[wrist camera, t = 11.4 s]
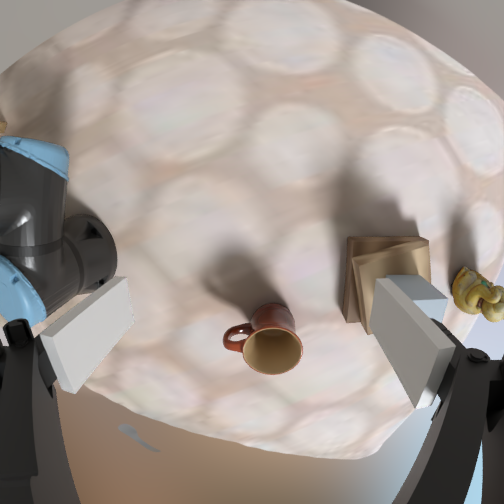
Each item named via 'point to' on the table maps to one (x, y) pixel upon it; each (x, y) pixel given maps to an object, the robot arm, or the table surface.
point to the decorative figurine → (478, 295)
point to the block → (422, 294)
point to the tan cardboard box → (354, 249)
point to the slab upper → (387, 271)
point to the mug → (268, 340)
